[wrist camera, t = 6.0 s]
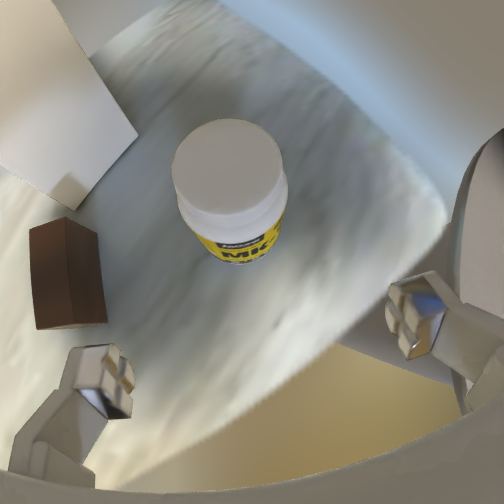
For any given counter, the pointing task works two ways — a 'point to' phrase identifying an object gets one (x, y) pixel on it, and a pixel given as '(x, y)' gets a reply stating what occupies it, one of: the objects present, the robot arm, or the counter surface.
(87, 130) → the milk carton
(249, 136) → the supplement bottle
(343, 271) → the counter surface
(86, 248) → the brown wooden block
